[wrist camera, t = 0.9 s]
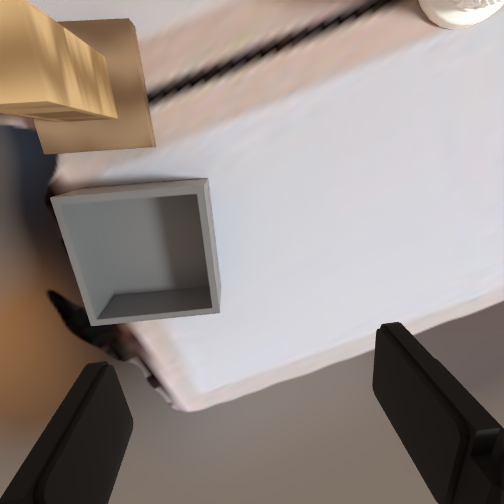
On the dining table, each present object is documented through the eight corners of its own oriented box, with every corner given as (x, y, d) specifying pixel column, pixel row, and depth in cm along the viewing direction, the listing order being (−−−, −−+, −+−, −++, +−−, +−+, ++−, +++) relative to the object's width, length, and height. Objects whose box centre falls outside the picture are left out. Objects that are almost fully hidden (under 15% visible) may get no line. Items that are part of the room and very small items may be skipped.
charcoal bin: (82, 188, 35) (49, 197, 29) (208, 178, 36) (203, 185, 29) (113, 297, 41) (91, 325, 34) (221, 286, 42) (219, 312, 35)
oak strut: (46, 60, 29) (-86, -4, 17) (104, 56, 29) (16, -8, 17) (63, 122, 31) (-43, 106, 19) (118, 118, 31) (47, 100, 19)
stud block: (17, 32, 29) (-71, -16, 21) (134, 26, 30) (96, -23, 21) (54, 153, 34) (-7, 156, 25) (156, 146, 34) (131, 146, 26)
